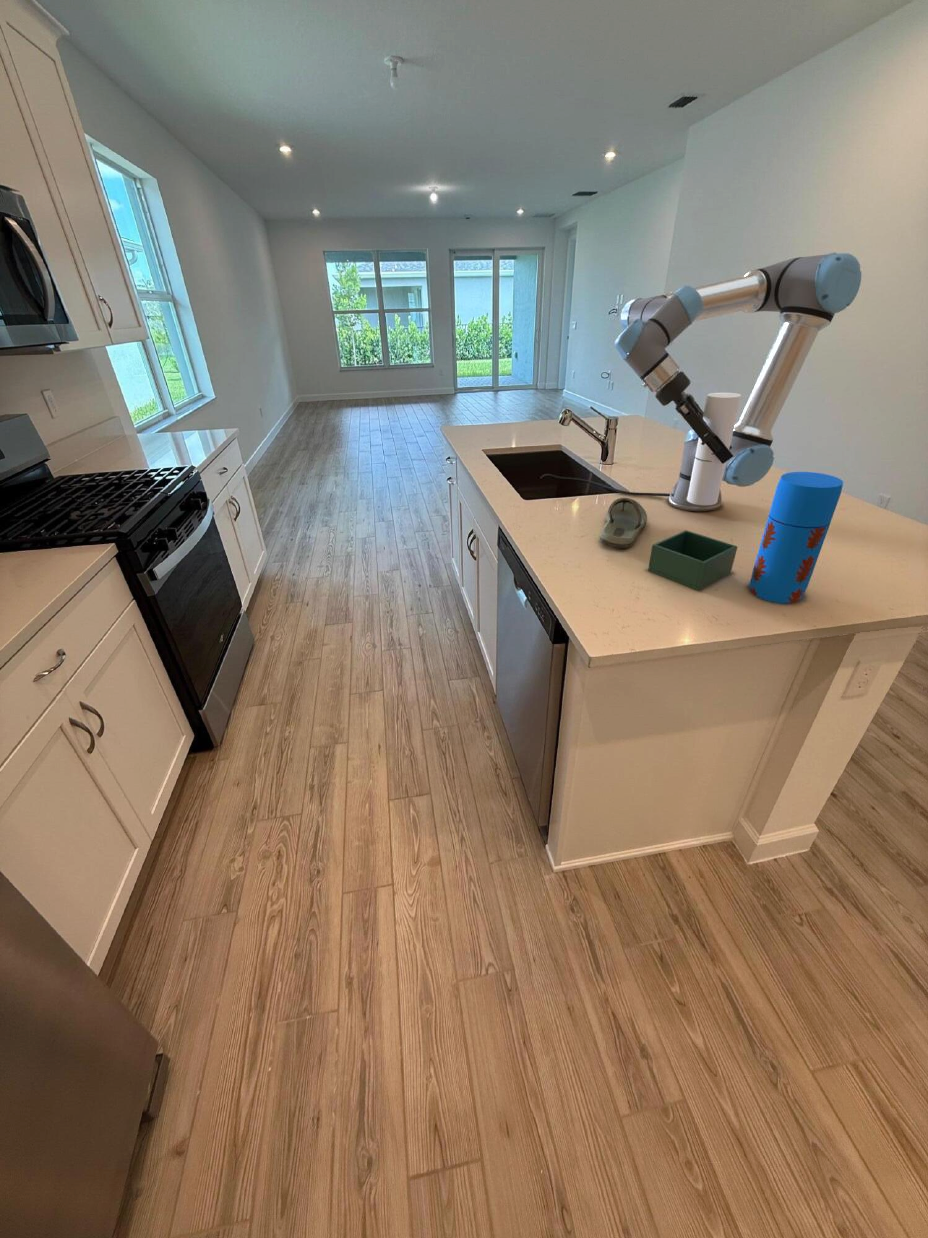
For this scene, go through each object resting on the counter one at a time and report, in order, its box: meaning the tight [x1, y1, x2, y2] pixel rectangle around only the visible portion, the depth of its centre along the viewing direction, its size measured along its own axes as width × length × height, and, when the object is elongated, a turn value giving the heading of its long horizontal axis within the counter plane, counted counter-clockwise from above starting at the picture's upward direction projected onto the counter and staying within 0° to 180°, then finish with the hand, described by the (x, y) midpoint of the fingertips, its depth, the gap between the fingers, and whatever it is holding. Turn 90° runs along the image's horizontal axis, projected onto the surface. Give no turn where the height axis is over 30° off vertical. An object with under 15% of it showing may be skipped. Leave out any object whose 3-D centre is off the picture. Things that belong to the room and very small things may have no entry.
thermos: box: [748, 471, 844, 604], centre depth 105 cm, size 11×11×25 cm
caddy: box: [647, 529, 739, 591], centre depth 120 cm, size 13×13×7 cm
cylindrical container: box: [687, 392, 742, 505], centre depth 122 cm, size 7×7×25 cm
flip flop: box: [598, 497, 648, 549], centre depth 142 cm, size 29×12×8 cm, turn 155°
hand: (727, 455), depth 122 cm, fingers closed on cylindrical container, 7 cm apart
